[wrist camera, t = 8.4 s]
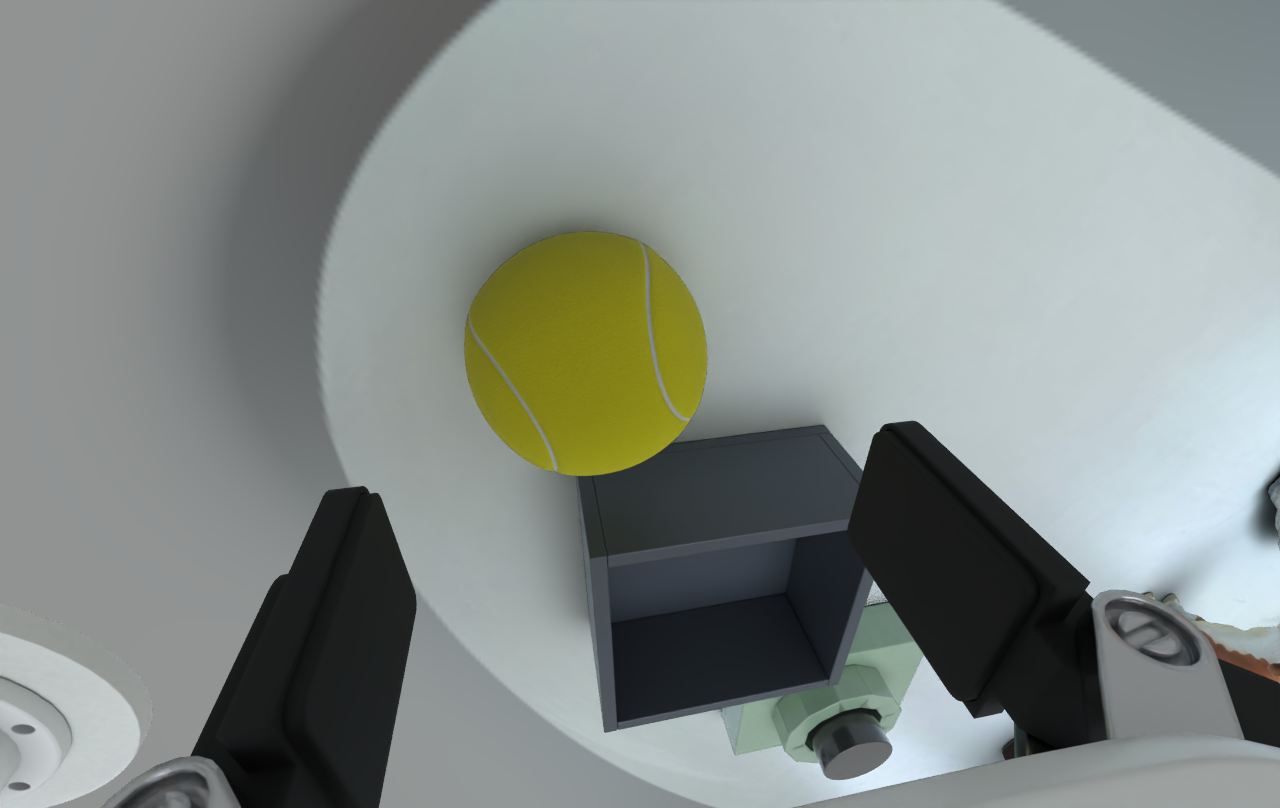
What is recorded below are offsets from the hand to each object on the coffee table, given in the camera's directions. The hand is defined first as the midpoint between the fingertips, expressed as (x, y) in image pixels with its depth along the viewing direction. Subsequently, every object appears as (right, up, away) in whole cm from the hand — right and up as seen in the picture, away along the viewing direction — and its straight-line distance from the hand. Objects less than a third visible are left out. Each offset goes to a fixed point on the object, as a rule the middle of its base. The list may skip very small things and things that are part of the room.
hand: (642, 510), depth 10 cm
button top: (+11, -16, +21) cm, 29 cm away
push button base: (+11, -14, +24) cm, 30 cm away
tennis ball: (-2, +5, +9) cm, 11 cm away
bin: (+3, -4, +16) cm, 17 cm away
